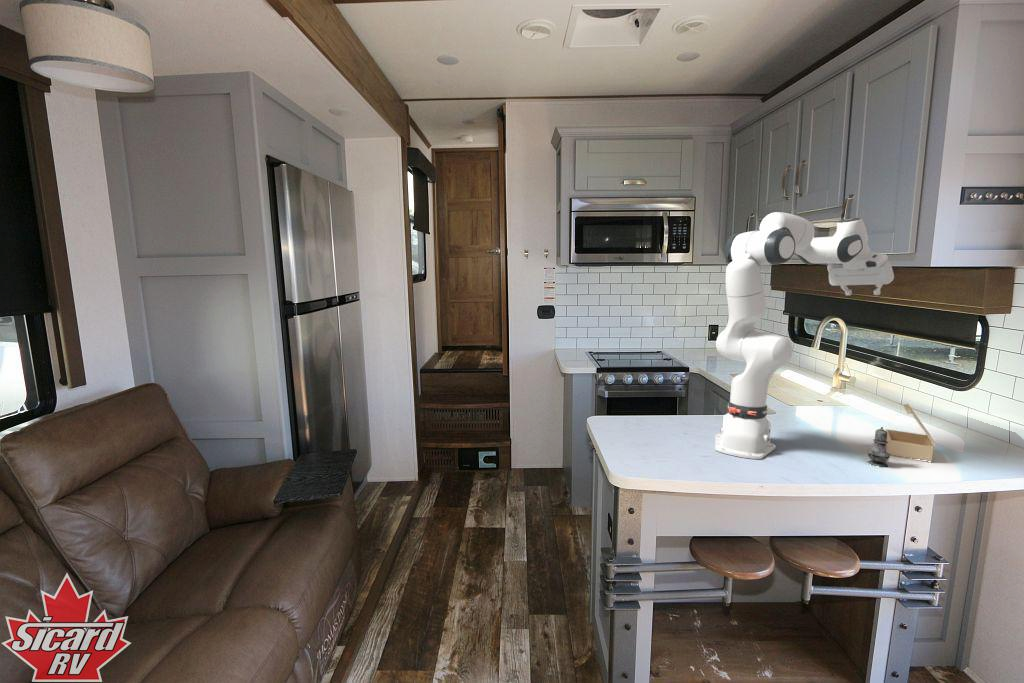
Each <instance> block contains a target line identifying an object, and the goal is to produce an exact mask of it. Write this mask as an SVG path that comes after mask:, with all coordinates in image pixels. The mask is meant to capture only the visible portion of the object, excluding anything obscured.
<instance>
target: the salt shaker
mask: <svg viewBox="0 0 1024 683" xmlns="http://www.w3.org/2000/svg"><path fill="white" fill-rule="evenodd" d="M886 440H887V432H886V429H884V427H883V426H881V427H880V428H878V429H876V430H875V435H874V439H872V441H873V447H872V449H867V451H866V452H867V454H868V458H869V460H867V461H866V463H867V462H868V463H869V464H868V463H867V464H868V465H870V464H871V466H873V465H874V466H873V467H876V466H879V467H878V468H884V467H885V468H888V467H889V464H887V463H886V462H888V461H889V459H890V458H891V457H892V456H891V455H890V454H889V453H887V452H886V443H888V442H887V441H886Z"/></svg>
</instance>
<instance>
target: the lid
mask: <svg viewBox="0 0 1024 683" xmlns="http://www.w3.org/2000/svg"><path fill="white" fill-rule="evenodd" d="M903 407H904V409H905V412H906V414H907V415H910V414H911V415H912V417H913V418H914V419H915V421H916V422H917V424H918V425H919V427H920V428H921V429H922V430H923V432H924V434H925V435H927V436H928V438H929V439H930V441H931V443H932V445H933V447H935V446H937V445H936V443H935V441H934V439H933V437H932V436H931V434H930V433H929V431H928V429H926V427H925V426H924V424H923V422H922V420H920V418H919V417H918V415H917V414H916V413H915V411H914V410H913V409H912V407H911V406H910V405H909V403H905V404H903Z"/></svg>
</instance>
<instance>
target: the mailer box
mask: <svg viewBox="0 0 1024 683" xmlns="http://www.w3.org/2000/svg"><path fill="white" fill-rule="evenodd" d="M885 431H886V432H887V440H886V441H887V442H888V443H886V452H887V453H889V454H890V455H891V456H890V457H896V456H897V458H902V457H905V458H904V459H907V458H912V459H911V460H913V459H920V460H927V461H932V460H933V454H934V453H933V452H934V445H933V443H932V442H931V440H930V439H929V438H928V436H927V435H926V434H920V433H915V432H914V433H912V432H908V431H903V430H901V431H900V430H894V429H888V428H885Z"/></svg>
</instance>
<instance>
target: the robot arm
mask: <svg viewBox="0 0 1024 683" xmlns="http://www.w3.org/2000/svg"><path fill="white" fill-rule="evenodd" d="M758 228H759V230H751V231H747V232H737V233H735V234H733V235H731V236H729V238H728V239H727V241H726V243H725V246H724V254H725V258H726V262H727V263H728V264H727V266H726V267H725V292H726V300H727V310H728V320H727V324H726V326H725V328H724V329H723V330H722V331H721V332H720V333H719V334H718V335H717V337H716V341H715V348H716V351H717V353H718V354H719V355H720V356H722V357H724V358H726V359H729V360H731V361H736V362H742V363H746V366H745V369H744V371H743V372H742V373H740V374H737V375H735V376H734V377H733V378H732V380H731V384H730V385H731V386H730V395H729V396H730V398H729V401H728V404H727V413H726V414H723V422H722V428H721V427H720V429H719V430H720V433H717V434H715V438H714V450H715V451H717V452H719V453H722V454H725V455H730V456H735V457H740V458H744V459H745V458H746V459H751V460H753V459H754V460H757V459H758V460H761V459H763V458H765V457H766V456H768V455H769V454H770V453H771V452H772V451H775V449H776V445H775V444H773V443H771V425H772V424H771V422H770V421H769V420H768V419H767V414H768V405H767V397H768V390H769V385H770V381H771V379H772V377H773V375H774V374H775V373H776V372H777V371H778V370H779V369H780V368H782V367H784V366H785V365H786V364H788V363H789V361H790V360H791V359H792V355H793V351H794V350H793V345H792V342H791V341H790V339H789V338H787V337H785V336H782V335H779V334H777V333H772V332H767V331H764V332H763V331H756V330H755V324H756V322H757V321H759V320H761V319H762V318H763V317H764V316H765V314H766V312H767V305H766V297H765V289H764V282H763V278H762V274H761V269H762V266H768V265H771V266H773V265H774V266H776V265H782V264H785V263H788V262H789V261H790V260H791V258H792V257H793V256H794V255H795V256H797V257H798V258H799V260H801V261H802V263H804V264H806V265H818V264H819V265H820V264H827V267H826V268H827V272H828V282H829V285H831V286H833V287H834V286H837V287H838V286H840V289H841V290H843V291H844V294H845V296H851V295H852V293H853V291H852V290H853V289H849V287H848V286H867V285H868V286H869V285H870V286H871V285H873V286H875V287H876V288H875V289H874V290H873V291H872V292H873V295H874V296H880V295H881V292H882V291H881V289H882V287H883V285H888V284H890V283H891V282H893V280H894V279H895V274H894V270H893V267H892V264H891V263H890V262H889V261H888V259H889V257H888V255H887V254H885V253H879V252H874V251H871V248H870V246H869V244H868V242H869V236H868V231H867V227H866V225H865V222H864V220H863V219H862V218H861V217H851V218H845V219H841V220H838V221H837V222H836V231H835V233H834V234H833V235H832V236H821V237H819V236H816V237H814V236H815V227H814V225H813V224H812V222H810V221H809V220H808V219H806V218H804V217H802V216H799V215H795V214H793V213H788V212H781V211H775V212H770V213H769V214H767V215H765V217H763V219H762V220H761V222H760V223H759V227H758Z"/></svg>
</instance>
